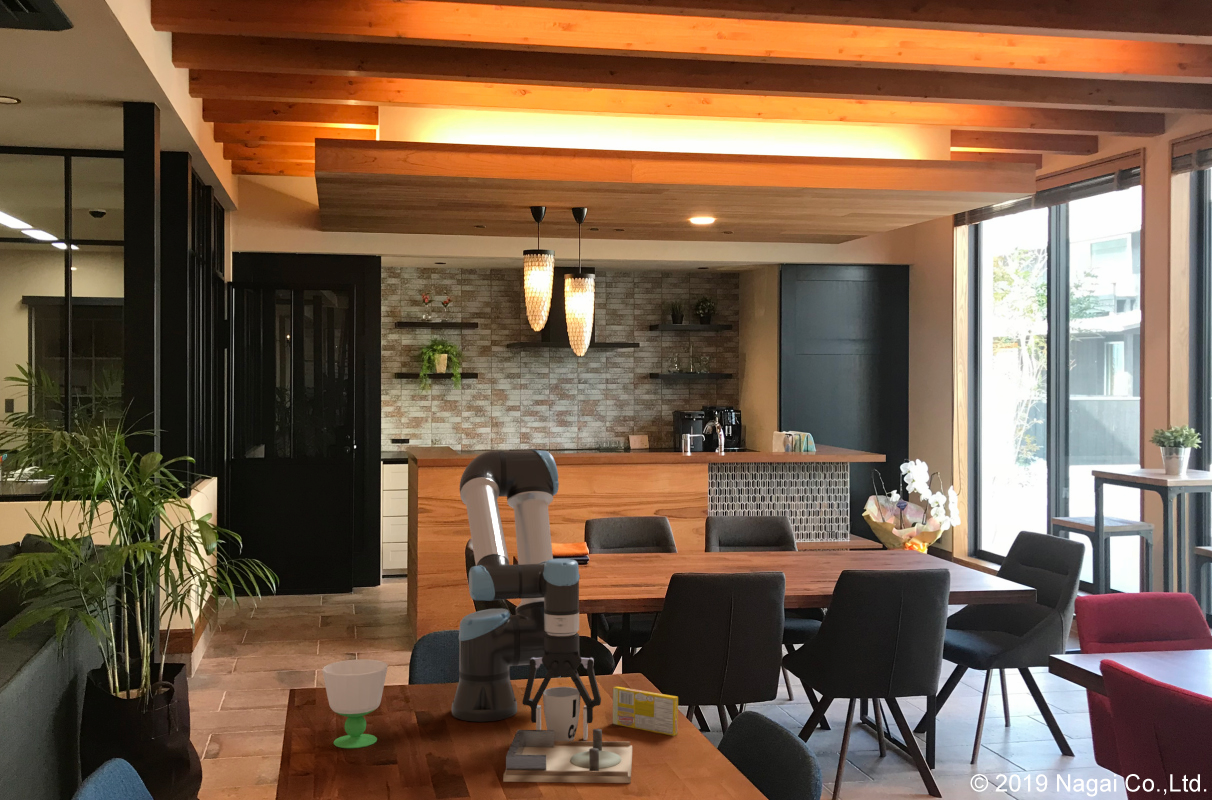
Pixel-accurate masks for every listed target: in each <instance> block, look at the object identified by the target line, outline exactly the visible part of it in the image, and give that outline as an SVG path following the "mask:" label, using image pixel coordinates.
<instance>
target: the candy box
mask: <svg viewBox="0 0 1212 800" xmlns="http://www.w3.org/2000/svg"><path fill="white" fill-rule="evenodd" d="M612 690H613V691H612V724H613V725H616V726H621V727H626V728H632V729H636V730H641V731H646V732H651V733H655V734H660V735H665V736H670V737H671V736H672V737H675V736H677V735H678V734H679V733H678V732H679V725H678V724H679V718H678V717H679V696H676V695H672V694H671V695H670V694H664V693H658V692H652V691H646V690H640V689H635V688H627V687H623V686H614V687H613V688H612Z"/></svg>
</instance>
